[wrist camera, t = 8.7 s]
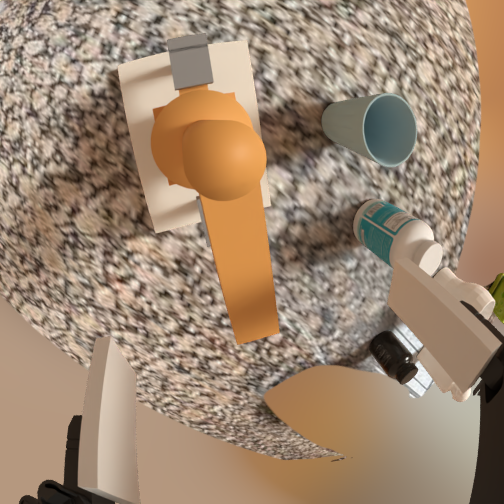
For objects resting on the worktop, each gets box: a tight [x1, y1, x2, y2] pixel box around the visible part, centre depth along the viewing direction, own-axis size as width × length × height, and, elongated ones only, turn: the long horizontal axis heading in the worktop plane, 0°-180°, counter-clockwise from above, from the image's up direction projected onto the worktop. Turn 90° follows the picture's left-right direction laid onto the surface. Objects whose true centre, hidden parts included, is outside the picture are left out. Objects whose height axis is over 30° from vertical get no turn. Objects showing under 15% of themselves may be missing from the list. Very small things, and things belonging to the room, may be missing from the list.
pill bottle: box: [353, 199, 443, 275], centre depth 34 cm, size 8×7×14 cm
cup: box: [321, 93, 417, 167], centre depth 27 cm, size 8×8×10 cm
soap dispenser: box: [417, 346, 471, 402], centre depth 58 cm, size 6×6×22 cm
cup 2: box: [433, 267, 495, 320], centre depth 47 cm, size 11×11×15 cm
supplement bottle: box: [369, 331, 418, 385], centre depth 51 cm, size 7×7×12 cm
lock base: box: [118, 33, 271, 247], centre depth 24 cm, size 20×14×11 cm
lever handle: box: [151, 84, 279, 345], centre depth 18 cm, size 8×16×17 cm, turn 8°
